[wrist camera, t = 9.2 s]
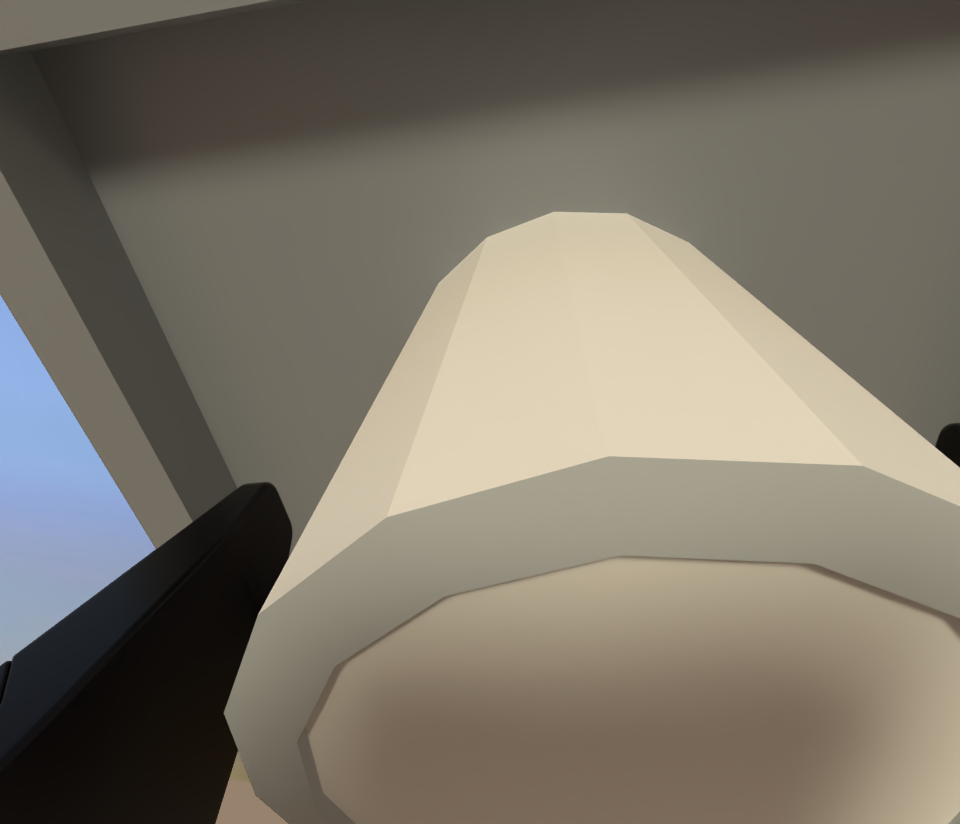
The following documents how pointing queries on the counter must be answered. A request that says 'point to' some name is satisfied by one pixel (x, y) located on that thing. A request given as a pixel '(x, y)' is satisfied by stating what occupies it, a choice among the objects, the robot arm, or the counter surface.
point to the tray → (444, 197)
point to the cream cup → (613, 568)
